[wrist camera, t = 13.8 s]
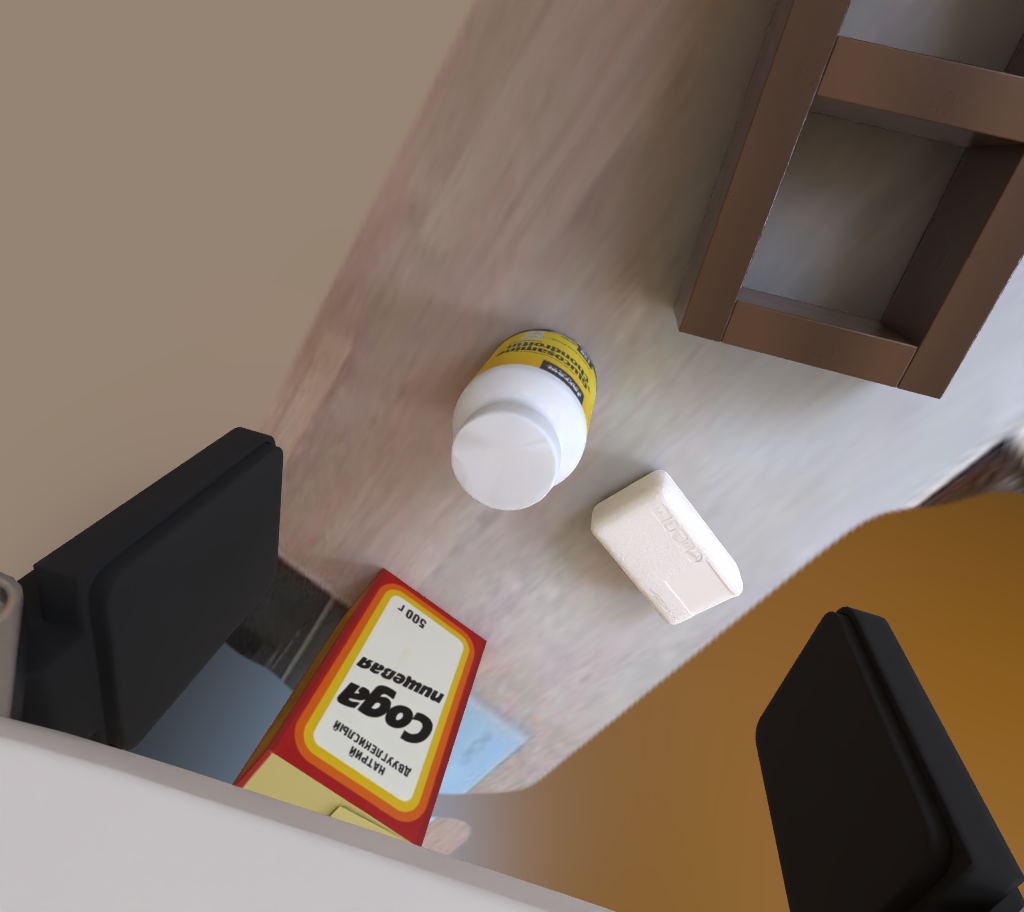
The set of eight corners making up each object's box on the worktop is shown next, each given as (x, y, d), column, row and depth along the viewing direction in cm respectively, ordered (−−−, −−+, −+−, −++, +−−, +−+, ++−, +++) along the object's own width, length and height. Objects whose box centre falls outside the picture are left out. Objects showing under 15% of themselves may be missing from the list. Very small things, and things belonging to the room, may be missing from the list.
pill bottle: (621, 375, 35) (613, 461, 25) (549, 449, 38) (516, 554, 28) (534, 300, 34) (489, 358, 24) (468, 383, 37) (402, 466, 27)
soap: (588, 505, 39) (584, 529, 37) (661, 461, 37) (663, 484, 34) (667, 602, 41) (669, 633, 39) (741, 567, 39) (749, 596, 36)
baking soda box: (341, 618, 47) (214, 811, 33) (383, 567, 45) (263, 755, 30) (439, 686, 49) (357, 901, 34) (486, 641, 46) (418, 855, 31)
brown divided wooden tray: (673, 309, 33) (678, 331, 29) (868, -271, 23) (924, -375, 19) (899, 367, 32) (940, 399, 28) (1205, -209, 22) (1348, -302, 18)
